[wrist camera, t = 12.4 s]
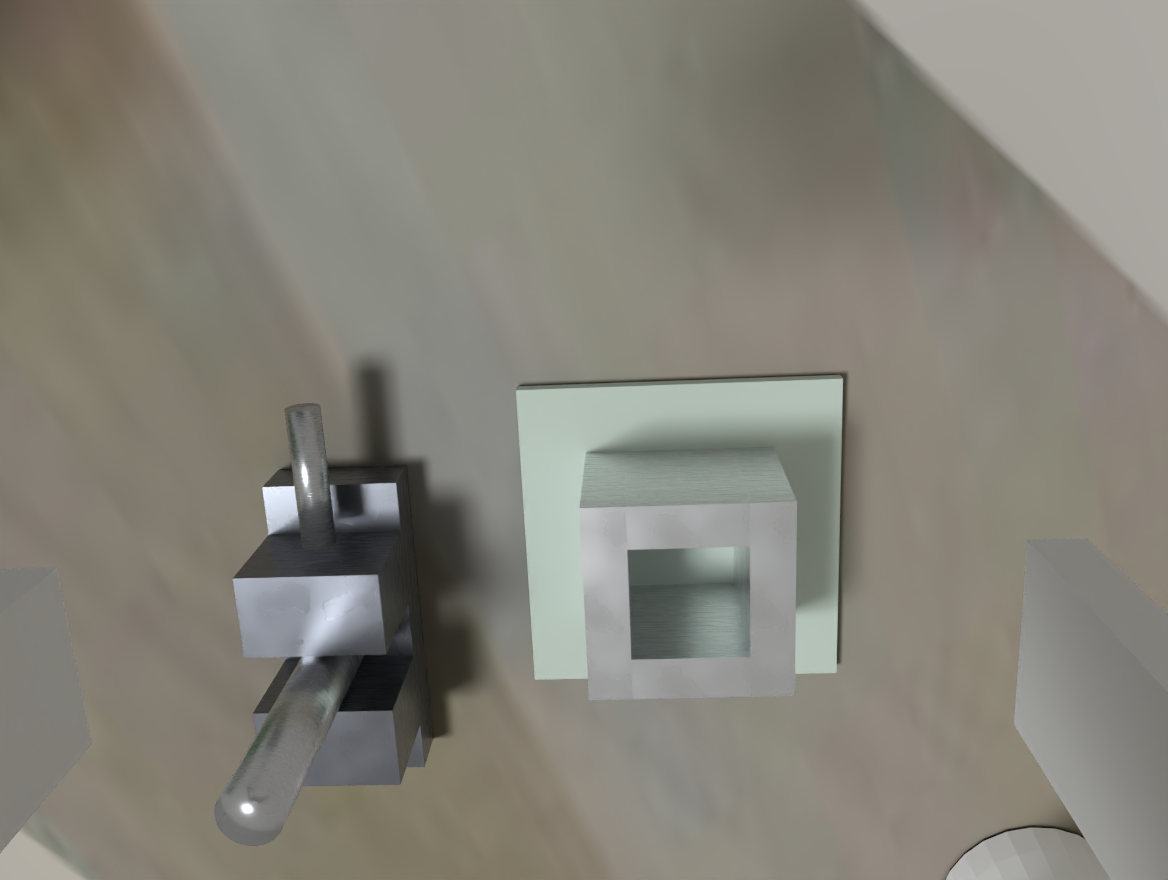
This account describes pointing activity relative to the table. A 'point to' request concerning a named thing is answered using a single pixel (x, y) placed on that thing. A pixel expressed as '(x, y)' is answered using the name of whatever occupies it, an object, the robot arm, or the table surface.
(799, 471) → the mat
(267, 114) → the table surface
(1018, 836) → the cup
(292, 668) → the vise
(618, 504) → the grey hollow block
